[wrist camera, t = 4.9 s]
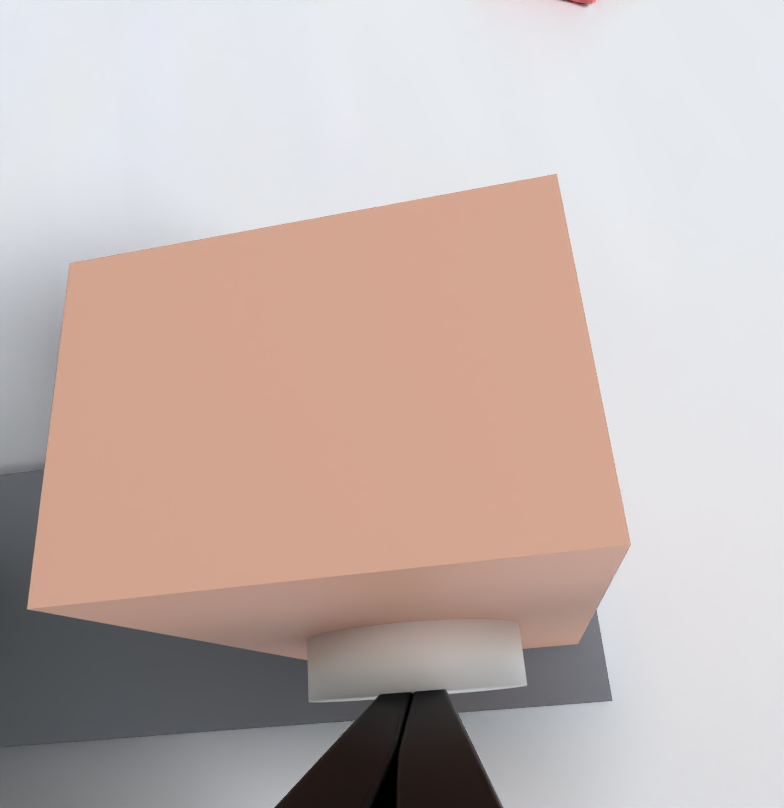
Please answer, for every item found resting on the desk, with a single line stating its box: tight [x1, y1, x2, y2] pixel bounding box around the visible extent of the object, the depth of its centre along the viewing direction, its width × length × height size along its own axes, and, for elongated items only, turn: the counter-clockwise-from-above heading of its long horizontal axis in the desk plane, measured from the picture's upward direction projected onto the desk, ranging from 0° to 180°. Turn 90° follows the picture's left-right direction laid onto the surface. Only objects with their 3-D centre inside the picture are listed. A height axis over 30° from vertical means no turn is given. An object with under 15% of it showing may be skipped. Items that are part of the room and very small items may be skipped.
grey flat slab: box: [0, 470, 612, 747], centre depth 18 cm, size 6×20×1 cm, turn 94°
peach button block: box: [27, 174, 631, 702], centre depth 11 cm, size 4×5×10 cm
